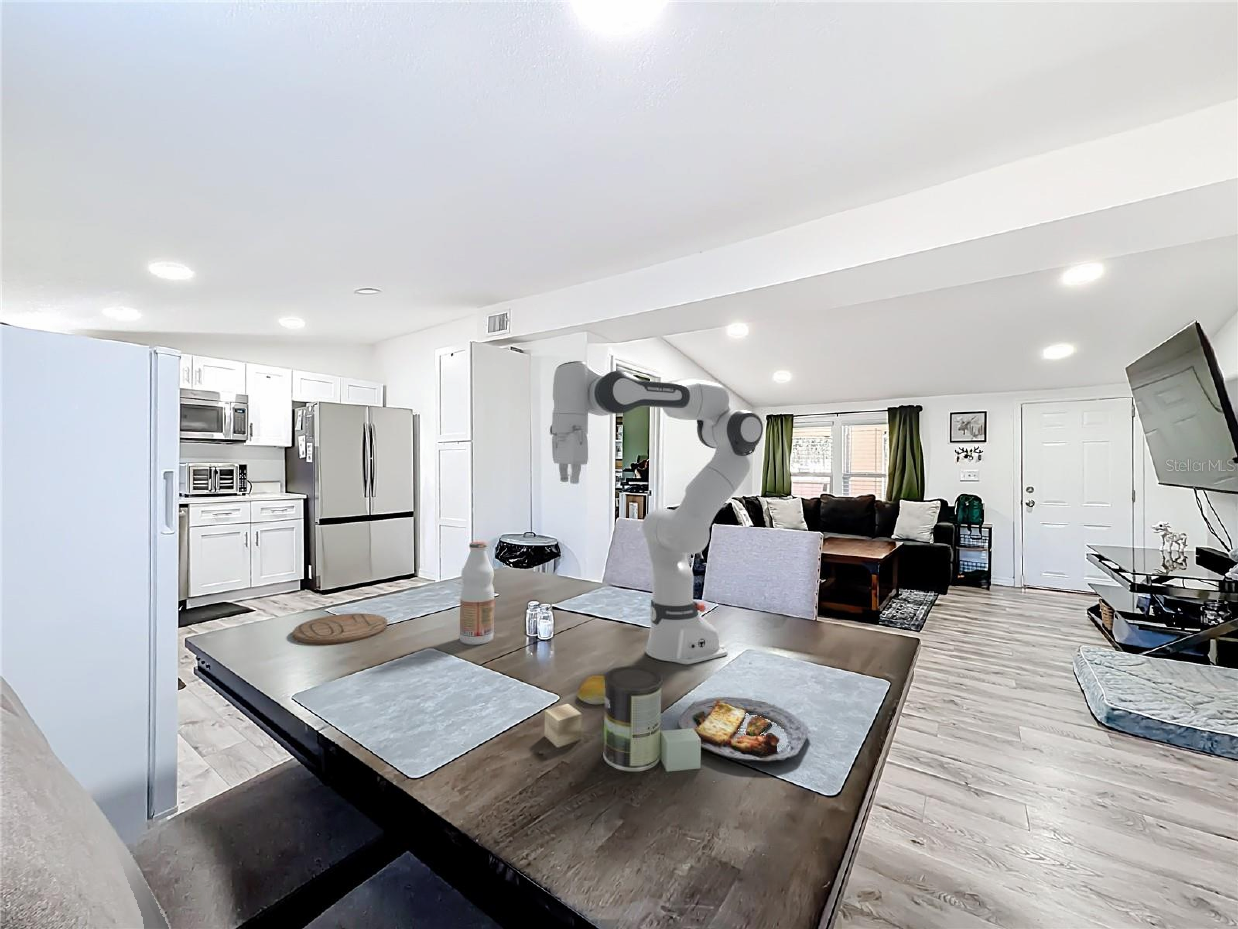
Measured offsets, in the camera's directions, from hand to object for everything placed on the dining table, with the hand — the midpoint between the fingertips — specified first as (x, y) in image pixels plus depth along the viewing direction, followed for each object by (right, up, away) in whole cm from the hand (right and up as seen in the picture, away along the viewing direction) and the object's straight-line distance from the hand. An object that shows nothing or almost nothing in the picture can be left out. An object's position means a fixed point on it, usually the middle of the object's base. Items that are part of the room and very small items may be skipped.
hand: (569, 482), depth 134 cm
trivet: (-71, -46, +28) cm, 89 cm away
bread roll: (+7, -47, -14) cm, 50 cm away
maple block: (+2, -47, -32) cm, 57 cm away
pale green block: (+23, -48, -40) cm, 66 cm away
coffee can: (+15, -48, -38) cm, 62 cm away
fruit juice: (-29, -46, +21) cm, 58 cm away
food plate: (+36, -48, -30) cm, 67 cm away
